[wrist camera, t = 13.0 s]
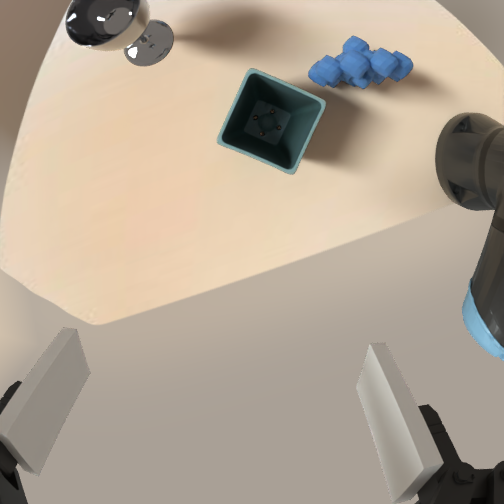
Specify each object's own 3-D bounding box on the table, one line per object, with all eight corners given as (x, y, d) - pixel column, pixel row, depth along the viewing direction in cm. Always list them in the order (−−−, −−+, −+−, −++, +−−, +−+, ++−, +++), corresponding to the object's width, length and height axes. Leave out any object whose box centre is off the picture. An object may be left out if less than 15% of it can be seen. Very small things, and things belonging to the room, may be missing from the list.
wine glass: (112, 37, 34) (56, 8, 20) (162, 7, 32) (123, -38, 18) (134, 79, 36) (79, 62, 22) (185, 49, 35) (152, 14, 21)
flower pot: (313, 106, 38) (328, 101, 30) (285, 166, 41) (293, 176, 33) (250, 79, 37) (249, 66, 28) (222, 140, 40) (214, 143, 31)
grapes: (380, 46, 34) (420, 24, 23) (388, 92, 37) (432, 83, 25) (297, 49, 35) (314, 21, 24) (306, 97, 37) (327, 85, 26)
